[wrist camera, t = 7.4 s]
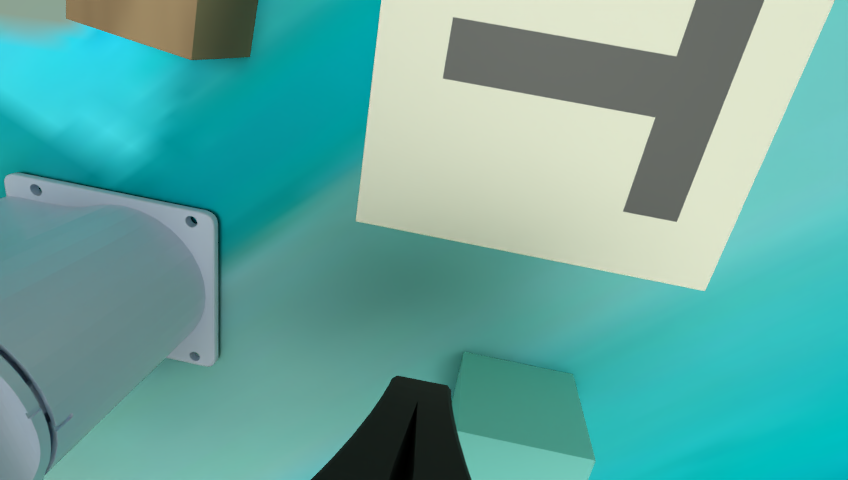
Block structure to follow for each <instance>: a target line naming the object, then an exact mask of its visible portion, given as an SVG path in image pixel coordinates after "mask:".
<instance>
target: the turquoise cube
mask: <svg viewBox="0 0 848 480" xmlns="http://www.w3.org/2000/svg"><path fill="white" fill-rule="evenodd" d="M452 408H453V414H454V419H455V424H456V429H457V433H458V437H459V441H460V444H461V448H462V451H463V455H464V458H465V461H466V465H467V468H468V471H469V474H470V477H471V479H472V480H588V478H589V475H590V473H591V471H592V468H593V466H594V463H595V457H594V453H593V449H592V445H591V442H590V438H589V434H588V430H587V426H586V422H585V418H584V415H583V411H582V407H581V403H580V399H579V395H578V392H577V388H576V384H575V380H574V376H573V374H569V373H564V372H559V371H555V370H550V369H545V368H540V367H535V366H530V365H526V364H521V363H516V362H511V361H506V360H502V359H497V358H492V357H487V356H482V355H477V354H473V353H468V352H463V356H462V361H461V365H460V369H459V374H458V378H457V382H456V387H455V391H454V395H453V400H452Z"/></svg>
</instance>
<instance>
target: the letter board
mask: <svg viewBox="0 0 848 480" xmlns="http://www.w3.org/2000/svg"><path fill="white" fill-rule="evenodd" d="M834 1H835V0H381V9H380V17H379V26H378V34H377V43H376V51H375V60H374V69H373V77H372V86H371V94H370V103H369V111H368V120H367V129H366V137H365V146H364V154H363V163H362V172H361V180H360V189H359V197H358V206H357V214H356V221H357V222H362V223H367V224H372V225H377V226H382V227H387V228H392V229H397V230H402V231H407V232H412V233H417V234H422V235H427V236H432V237H437V238H442V239H447V240H452V241H457V242H462V243H467V244H472V245H477V246H482V247H487V248H492V249H497V250H502V251H507V252H512V253H517V254H522V255H527V256H532V257H537V258H542V259H547V260H552V261H557V262H562V263H567V264H572V265H577V266H582V267H587V268H592V269H597V270H602V271H607V272H612V273H617V274H622V275H627V276H632V277H637V278H642V279H647V280H652V281H657V282H662V283H667V284H672V285H677V286H682V287H687V288H692V289H697V290H702V291H705V290H706V288H707V285H708V283H709V281H710V279H711V276H712V274H713V272H714V270H715V267H716V265H717V263H718V261H719V258H720V256H721V254H722V252H723V249H724V247H725V245H726V243H727V240H728V238H729V236H730V234H731V231H732V229H733V227H734V225H735V223H736V220H737V218H738V216H739V214H740V211H741V209H742V207H743V205H744V202H745V200H746V198H747V196H748V193H749V191H750V189H751V187H752V184H753V182H754V180H755V178H756V175H757V173H758V171H759V169H760V166H761V164H762V162H763V160H764V158H765V155H766V153H767V151H768V149H769V146H770V144H771V142H772V140H773V137H774V135H775V133H776V131H777V128H778V126H779V124H780V122H781V119H782V117H783V115H784V113H785V110H786V108H787V106H788V104H789V101H790V99H791V97H792V95H793V92H794V90H795V88H796V86H797V84H798V81H799V79H800V77H801V75H802V72H803V70H804V68H805V66H806V63H807V61H808V59H809V57H810V54H811V52H812V50H813V48H814V45H815V43H816V41H817V39H818V36H819V34H820V32H821V30H822V27H823V25H824V23H825V21H826V19H827V16H828V14H829V12H830V10H831V7H832V5H833V3H834Z"/></svg>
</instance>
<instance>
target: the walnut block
mask: <svg viewBox="0 0 848 480" xmlns="http://www.w3.org/2000/svg"><path fill="white" fill-rule="evenodd" d="M257 5H258V0H66V19H69V20H72V21H75V22H78V23H81V24H84V25H87V26H90V27H93V28H96V29H99V30H102V31H105V32H108V33H111V34H114V35H117V36H120V37H123V38H126V39H129V40H132V41H135V42H138V43H141V44H144V45H147V46H151V47H154V48H157V49H160V50H163V51H166V52H169V53H172V54H175V55H178V56H181V57H184V58H187V59H190V60H202V59H221V58H241V57H250V52H251V46H252V39H253V32H254V25H255V18H256V11H257Z"/></svg>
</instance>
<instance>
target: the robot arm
mask: <svg viewBox="0 0 848 480" xmlns="http://www.w3.org/2000/svg"><path fill="white" fill-rule="evenodd" d="M4 184H5V190H6V195H7V197H4V198H0V480H43V478H44V475H45V474H46V473H47V472H48V471H49V470H50V469H52V468H53V467H54V466H55V465H56V464H57V463H58V462H59V461H60V460H61V459H62V458H63V457H64V456H65V455H66V454H67V453H68V452H69V451H70V450H71V449H72V448H73V447H74V446H75V445H76V444H77V443H78V442H79V441H80V440H81V439H82V438H83V437H84V436H85V435H87V434H88V433H89V432H90V431H91V430H92V429H93V428H94V427H95V426H96V425H97V424H98V423H99V422H100V421H101V420H102V419H103V418H104V417H105V416H106V415H107V414H108V413H109V412H110V411H111V410H112V409H113V408H114V407H115V406H116V405H117V404H118V403H119V402H120V401H121V400H123V399H124V398H125V397H126V396H127V395H128V394H129V393H130V392H131V391H132V390H133V389H134V388H135V387H136V386H137V385H138V384H139V383H140V382H141V381H142V380H143V379H144V378H145V377H146V376H147V375H148V374H149V373H150V372H151V371H152V370H153V369H154V368H155V367H156V366H158V365H159V364H160V363H161V362H162V361H163V360H164V359H165V358H170V359H174V360H179V361H183V362H188V363H192V364H197V365H201V366H208V367H209V366H212V365H213V364H214V363H215V362H216V361H217V360H218V221H217V218H216V216H215V215H214V214H213V213H212V212H209V211H207V210H202V209H197V208H192V207H187V206H182V205H177V204H172V203H167V202H163V201H158V200H153V199H148V198H143V197H138V196H133V195H128V194H123V193H118V192H113V191H108V190H103V189H98V188H93V187H88V186H83V185H78V184H73V183H68V182H64V181H59V180H54V179H49V178H44V177H39V176H34V175H29V174H24V173H12V174H9V175H7V176H6V177H5V179H4ZM38 186H39V187H40V188H41V190H42V192H41V191H40V190H39V188H38ZM191 216H192V217H194V218H195V219H196V220H197V224H195V223H193V222H192V221H191V218H190V217H191ZM195 352H196V353H198V354H199V356H198V355H196V354H195ZM311 480H472V479H471V477H470V474H469V471H468V468H467V465H466V461H465V458H464V455H463V451H462V448H461V444H460V441H459V437H458V433H457V429H456V424H455V419H454V414H453V408H452V401H451V390H450V388H449V387H448V386H447V385H442V384H437V383H432V382H427V381H422V380H416V379H411V378H406V377H401V376H396V377H394V378H392V380H391V382H390V384H389V386H388V387H387V389H386V391H385V392H384V394H383V396H382V397H381V399H380V400H379V402H378V403H377V404H376V406H375V407H374V409H373V410H372V411H371V413H370V414H369V415H368V417H367V418H366V419H365V420H364V422H363V423H362V424H361V426H360V427H359V428H358V429H357V431H356V432H355V433H354V434H353V435H352V437H351V438H350V439H349V440H348V441H347V442H346V443H345V444H344V446H343V447H342V448H341V449H340V450H339V451H338V452H337V453H336V454H335V456H334V457H333V458H332V459H331V460H330V461H329V462H328V463H327V464H326V465H325V466H324V467H323V468H322V469H321V470H320V471H319V472H318V473H317V474H316V475H315V476H314V477H313V478H312V479H311Z"/></svg>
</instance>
